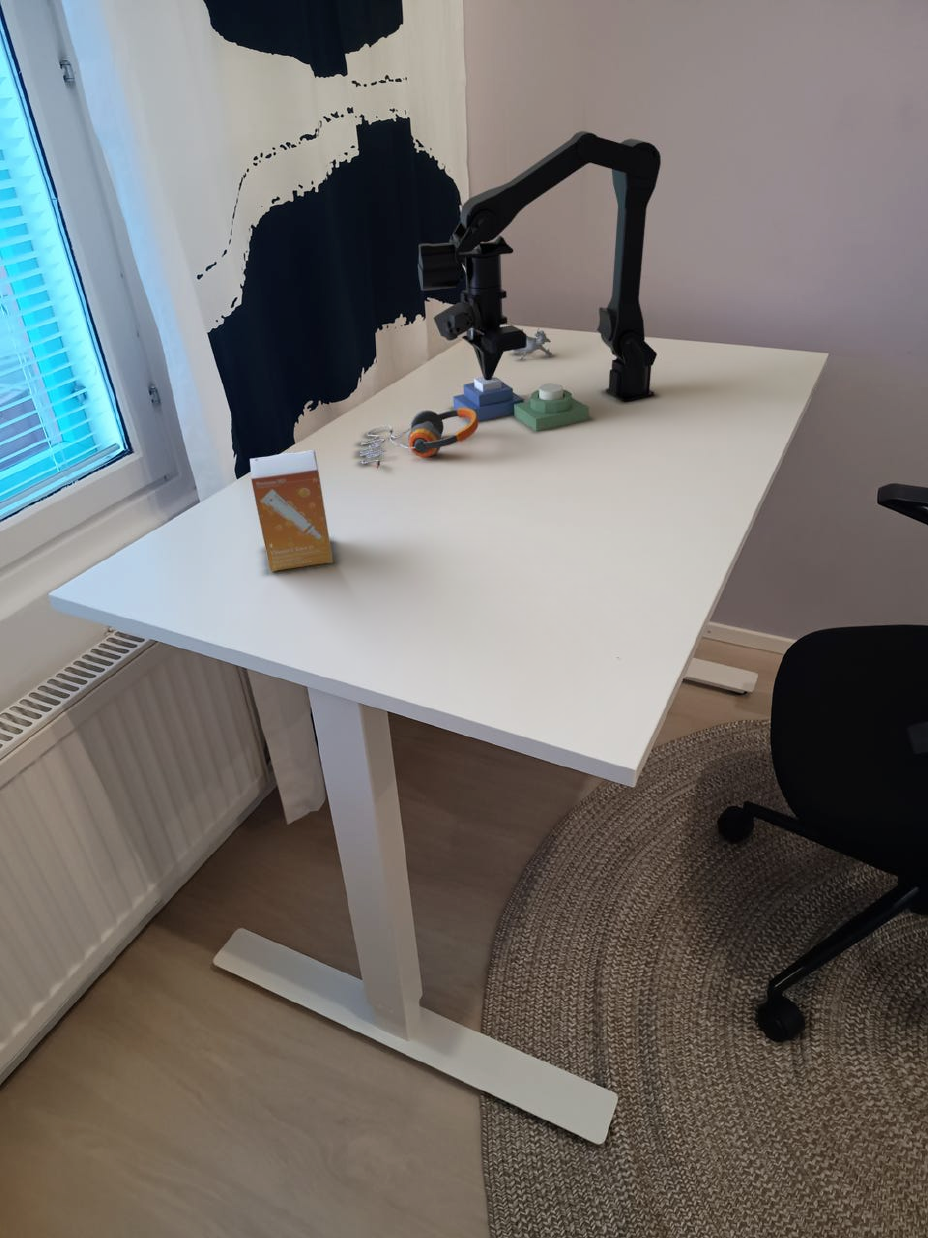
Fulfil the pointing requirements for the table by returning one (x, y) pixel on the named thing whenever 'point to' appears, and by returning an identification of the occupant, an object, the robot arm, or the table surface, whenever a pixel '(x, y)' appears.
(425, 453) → the headphones
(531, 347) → the grey figurine
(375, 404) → the table surface
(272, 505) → the small box
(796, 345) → the table surface
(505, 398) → the blue switch
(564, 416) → the green switch
